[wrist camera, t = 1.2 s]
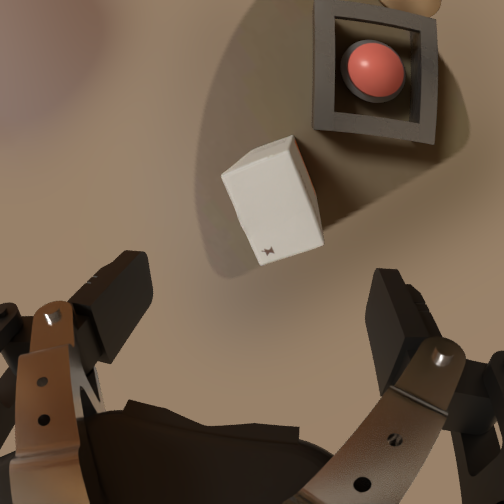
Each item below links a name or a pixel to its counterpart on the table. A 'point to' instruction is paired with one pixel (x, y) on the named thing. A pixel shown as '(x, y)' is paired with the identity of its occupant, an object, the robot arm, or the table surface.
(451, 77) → the table surface
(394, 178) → the table surface
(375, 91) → the button
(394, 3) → the coaster
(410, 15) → the grey square frame
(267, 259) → the skincare box
